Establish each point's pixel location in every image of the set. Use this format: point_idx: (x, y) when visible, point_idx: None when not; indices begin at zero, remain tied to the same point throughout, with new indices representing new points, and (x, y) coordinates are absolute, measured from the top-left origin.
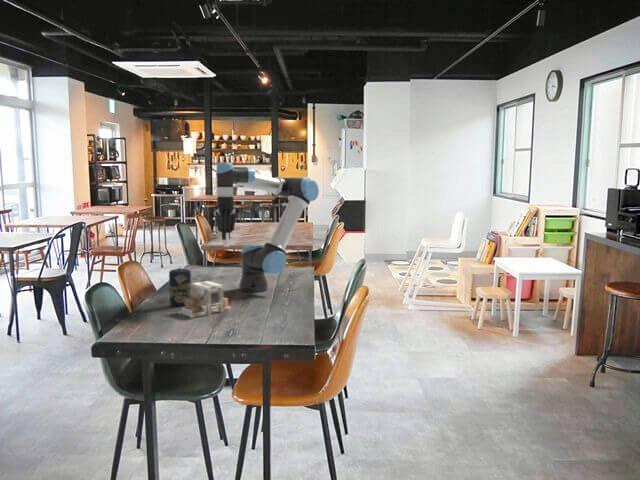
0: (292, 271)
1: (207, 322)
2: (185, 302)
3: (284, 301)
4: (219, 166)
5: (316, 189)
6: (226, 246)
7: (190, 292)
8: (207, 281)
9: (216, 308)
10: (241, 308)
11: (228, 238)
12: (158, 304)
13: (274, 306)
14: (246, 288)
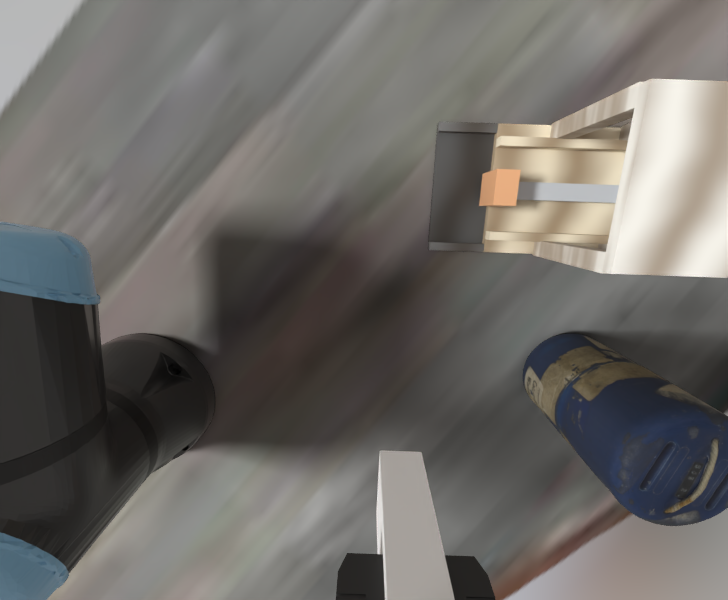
0: None
1: (693, 60)
2: None
3: (187, 97)
4: None
5: None
6: (420, 458)
7: (572, 361)
8: (624, 253)
9: (544, 183)
10: (423, 150)
11: (399, 551)
12: None
13: (290, 54)
14: (201, 381)
